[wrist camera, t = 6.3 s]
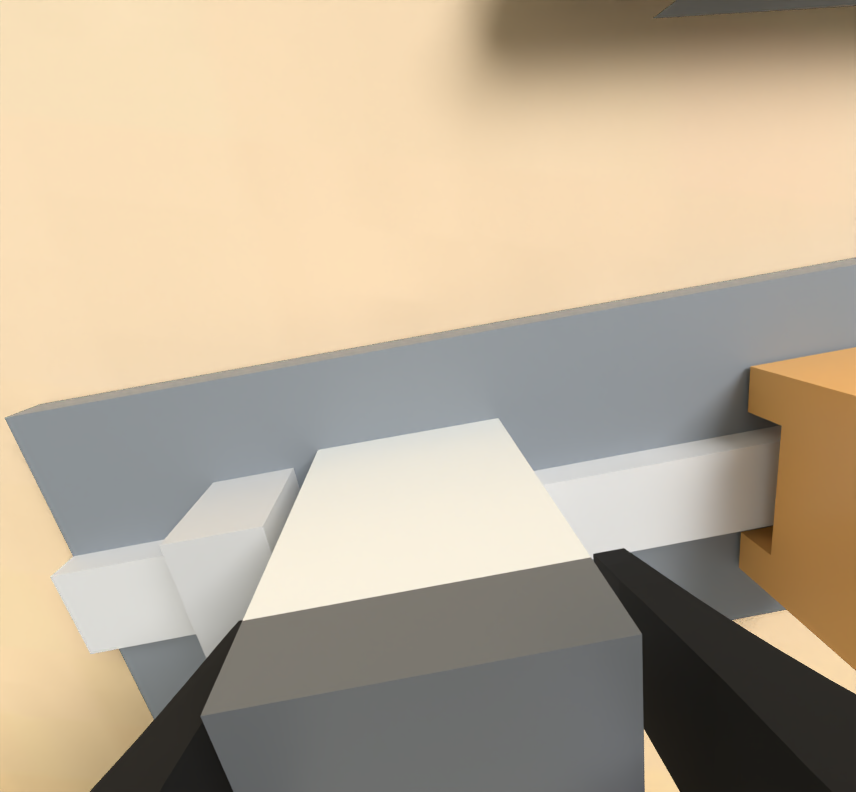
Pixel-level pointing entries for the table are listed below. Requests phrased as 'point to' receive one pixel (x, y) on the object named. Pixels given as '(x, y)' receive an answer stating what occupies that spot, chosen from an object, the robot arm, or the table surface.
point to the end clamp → (810, 495)
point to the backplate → (421, 411)
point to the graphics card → (744, 6)
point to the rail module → (430, 635)
